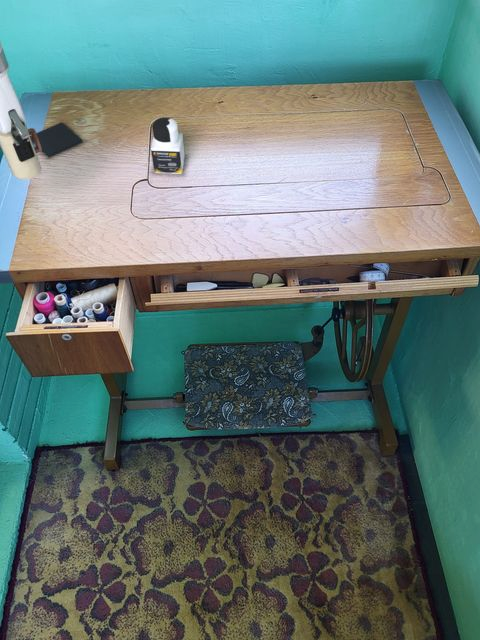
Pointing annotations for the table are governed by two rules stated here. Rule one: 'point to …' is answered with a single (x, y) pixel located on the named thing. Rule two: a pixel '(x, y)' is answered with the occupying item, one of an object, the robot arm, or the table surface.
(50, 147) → the rubber mat
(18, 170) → the cream cylinder canister
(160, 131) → the medicine bottle
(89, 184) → the table surface
